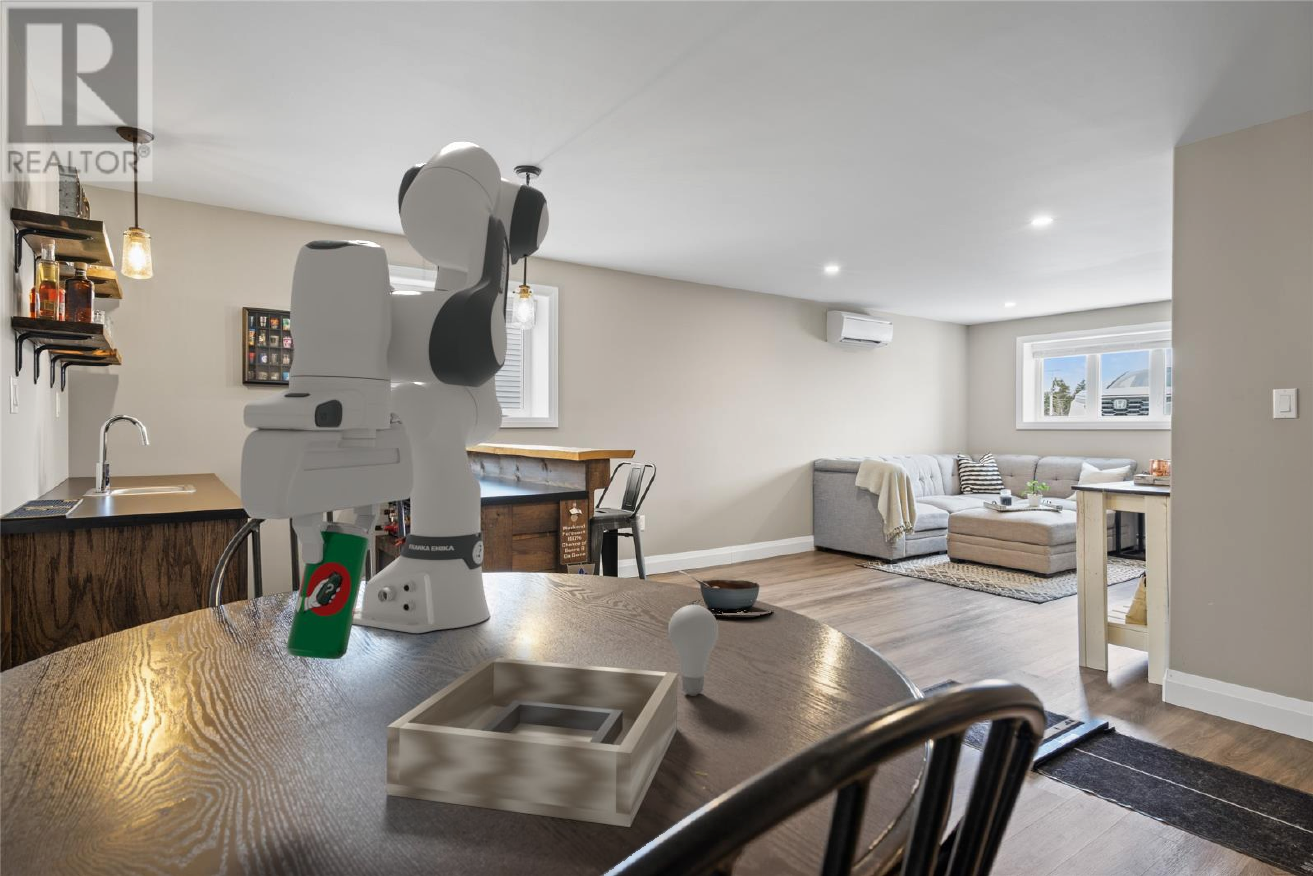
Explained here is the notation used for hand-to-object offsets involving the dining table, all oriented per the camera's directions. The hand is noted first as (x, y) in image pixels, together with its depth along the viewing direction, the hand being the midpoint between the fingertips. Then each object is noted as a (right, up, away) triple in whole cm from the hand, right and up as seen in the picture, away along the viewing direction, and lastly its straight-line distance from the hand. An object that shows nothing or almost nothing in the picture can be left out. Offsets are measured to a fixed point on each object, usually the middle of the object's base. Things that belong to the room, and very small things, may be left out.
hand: (338, 556), depth 69 cm
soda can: (-1, -9, -3) cm, 9 cm away
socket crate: (+19, -20, +2) cm, 28 cm away
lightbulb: (+35, -20, +19) cm, 44 cm away
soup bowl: (+43, -20, +60) cm, 76 cm away
